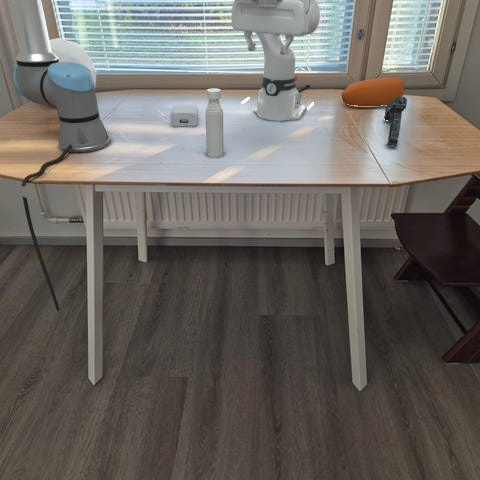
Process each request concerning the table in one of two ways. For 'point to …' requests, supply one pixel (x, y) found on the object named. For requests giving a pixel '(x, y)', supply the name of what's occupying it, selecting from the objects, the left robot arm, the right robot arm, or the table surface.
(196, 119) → the charger
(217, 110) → the bottle
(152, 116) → the table surface
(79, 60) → the decorative sphere
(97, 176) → the table surface
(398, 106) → the futuristic handgun
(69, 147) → the left robot arm
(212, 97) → the cap
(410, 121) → the table surface
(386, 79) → the clog
